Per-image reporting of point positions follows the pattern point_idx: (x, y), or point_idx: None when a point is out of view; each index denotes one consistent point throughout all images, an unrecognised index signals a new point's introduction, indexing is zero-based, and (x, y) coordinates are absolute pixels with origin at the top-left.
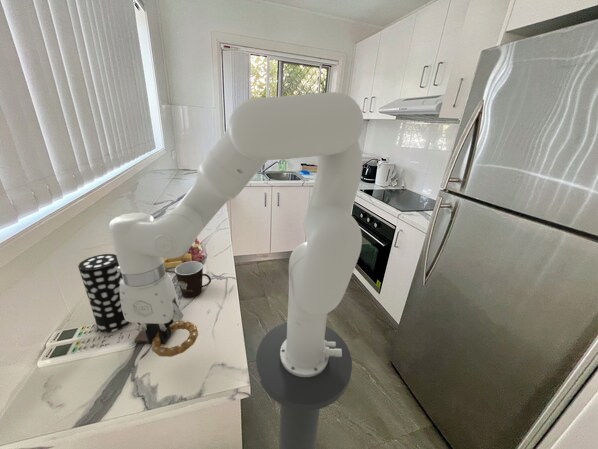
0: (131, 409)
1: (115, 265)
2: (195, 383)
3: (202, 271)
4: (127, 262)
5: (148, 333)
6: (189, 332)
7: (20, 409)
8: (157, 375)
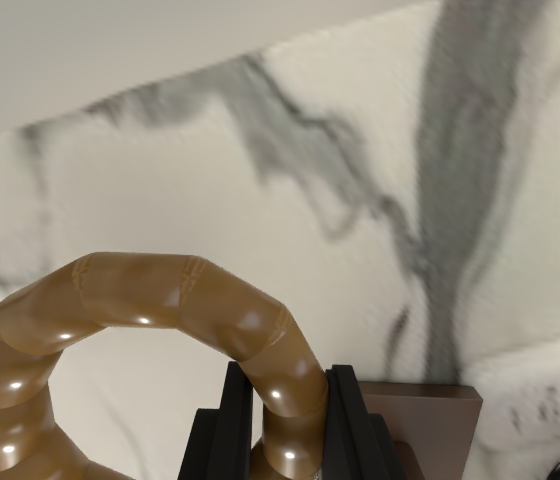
0: (322, 52)
1: None
2: (81, 186)
3: None
4: None
5: (359, 467)
6: (59, 463)
7: None
8: (285, 226)
